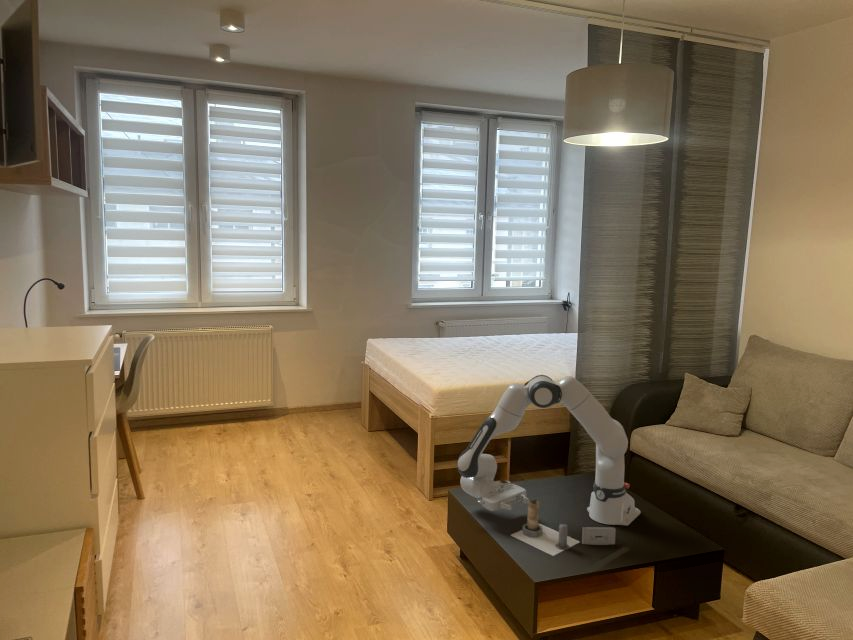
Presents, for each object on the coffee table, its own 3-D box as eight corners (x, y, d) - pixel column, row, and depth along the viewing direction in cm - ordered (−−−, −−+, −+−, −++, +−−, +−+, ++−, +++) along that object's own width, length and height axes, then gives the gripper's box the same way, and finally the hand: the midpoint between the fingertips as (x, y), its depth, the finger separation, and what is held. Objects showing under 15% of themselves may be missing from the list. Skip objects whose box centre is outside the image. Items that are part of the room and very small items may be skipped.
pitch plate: (537, 526, 252) (538, 503, 251) (581, 546, 237) (582, 521, 236) (510, 538, 242) (510, 514, 241) (554, 560, 227) (555, 534, 225)
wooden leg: (531, 528, 247) (532, 496, 245) (540, 532, 244) (541, 500, 242) (524, 532, 244) (525, 499, 242) (533, 535, 241) (534, 502, 239)
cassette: (582, 548, 235) (583, 528, 234) (581, 546, 237) (582, 526, 236) (615, 549, 236) (616, 529, 234) (613, 546, 237) (614, 526, 236)
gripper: (475, 492, 251) (501, 504, 240) (510, 479, 264) (536, 490, 254) (474, 507, 251) (500, 520, 241) (509, 494, 265) (536, 505, 255)
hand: (519, 504), depth 248 cm, fingers open, 8 cm apart
